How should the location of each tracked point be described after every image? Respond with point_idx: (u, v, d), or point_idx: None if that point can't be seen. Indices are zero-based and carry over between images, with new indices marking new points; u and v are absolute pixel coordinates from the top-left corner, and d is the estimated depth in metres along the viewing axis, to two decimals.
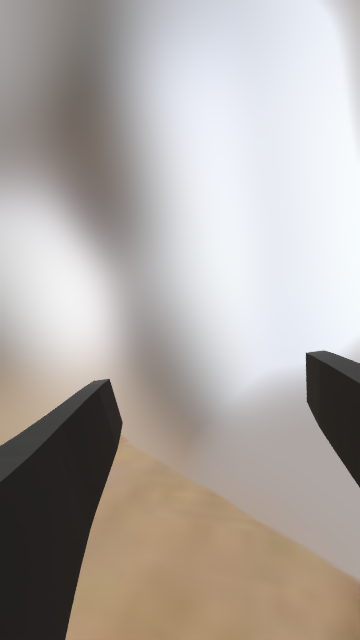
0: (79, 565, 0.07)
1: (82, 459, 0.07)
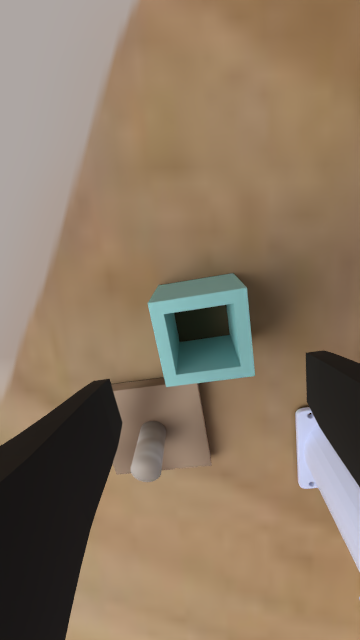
0: (78, 565, 0.07)
1: (82, 459, 0.07)
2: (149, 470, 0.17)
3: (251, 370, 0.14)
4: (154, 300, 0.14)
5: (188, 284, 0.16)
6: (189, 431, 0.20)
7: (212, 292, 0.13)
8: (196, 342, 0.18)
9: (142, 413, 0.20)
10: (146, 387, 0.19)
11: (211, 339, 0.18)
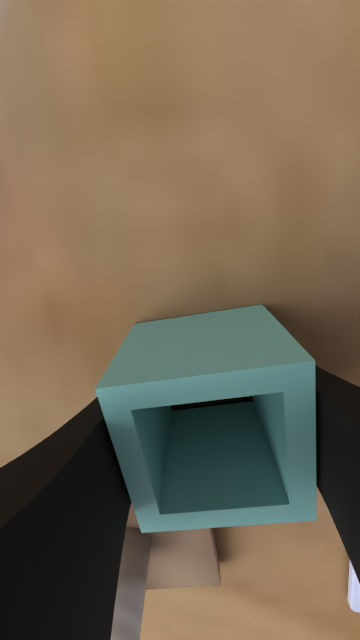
0: (118, 563, 0.06)
1: None
2: None
3: (310, 511, 0.07)
4: (112, 377, 0.07)
5: (184, 328, 0.09)
6: (187, 542, 0.13)
7: (236, 368, 0.06)
8: (197, 414, 0.11)
9: None
10: None
11: (223, 409, 0.11)
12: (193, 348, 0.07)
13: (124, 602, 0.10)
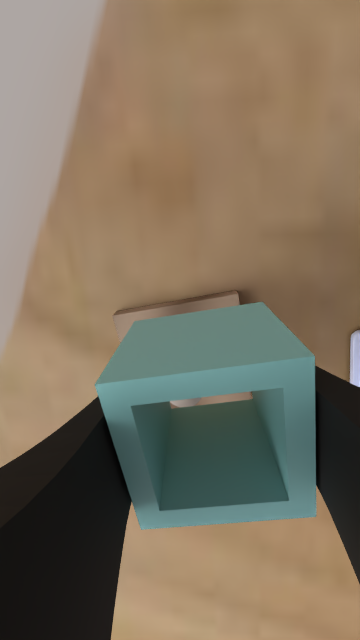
0: (118, 562, 0.06)
1: None
2: None
3: (310, 508, 0.07)
4: (112, 373, 0.07)
5: (184, 325, 0.09)
6: None
7: (235, 363, 0.06)
8: (197, 412, 0.11)
9: None
10: (178, 305, 0.16)
11: (223, 407, 0.11)
12: (193, 344, 0.07)
13: None
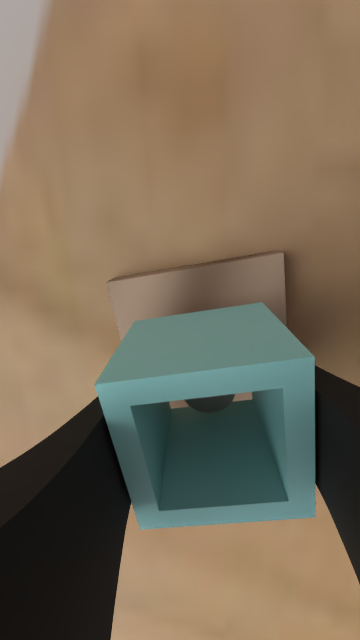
0: (118, 562, 0.06)
1: None
2: None
3: (309, 508, 0.07)
4: (112, 373, 0.07)
5: (184, 325, 0.09)
6: None
7: (235, 364, 0.06)
8: (197, 412, 0.11)
9: None
10: (198, 268, 0.12)
11: None
12: (193, 345, 0.07)
13: None
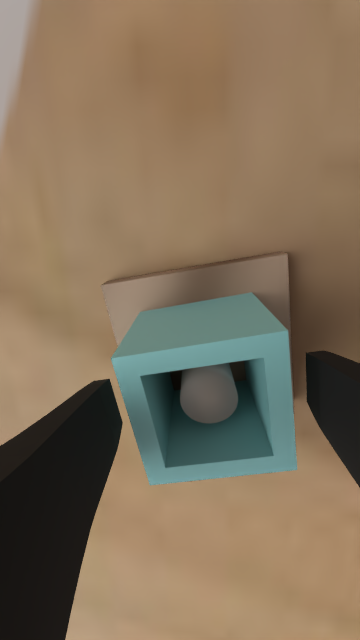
0: (79, 565, 0.07)
1: (82, 459, 0.07)
2: (215, 399, 0.09)
3: (291, 462, 0.09)
4: (124, 350, 0.08)
5: (184, 313, 0.10)
6: None
7: (225, 338, 0.07)
8: None
9: None
10: (198, 270, 0.11)
11: None
12: (191, 327, 0.09)
13: (218, 364, 0.10)
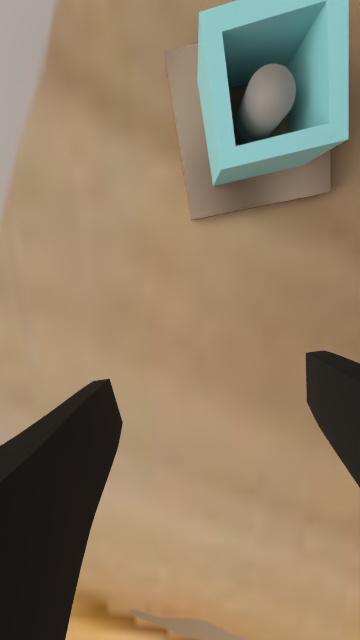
0: (79, 565, 0.07)
1: (82, 459, 0.07)
2: (276, 93, 0.11)
3: (344, 128, 0.10)
4: None
5: None
6: None
7: None
8: None
9: (239, 88, 0.13)
10: None
11: None
12: None
13: None
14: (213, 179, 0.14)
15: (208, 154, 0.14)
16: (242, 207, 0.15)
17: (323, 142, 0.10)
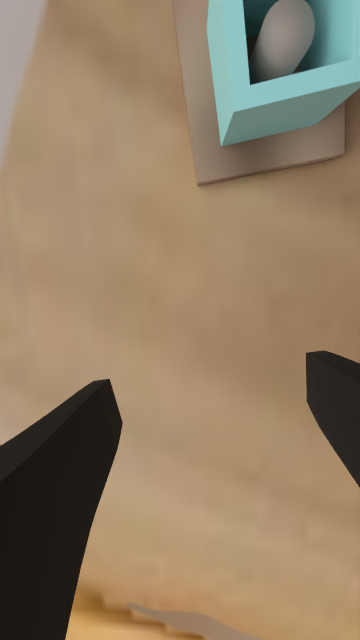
0: (78, 565, 0.07)
1: (82, 459, 0.07)
2: (294, 30, 0.10)
3: None
4: None
5: None
6: None
7: None
8: None
9: (251, 39, 0.13)
10: None
11: None
12: None
13: None
14: (222, 137, 0.13)
15: (217, 111, 0.14)
16: (251, 169, 0.15)
17: (344, 81, 0.10)
